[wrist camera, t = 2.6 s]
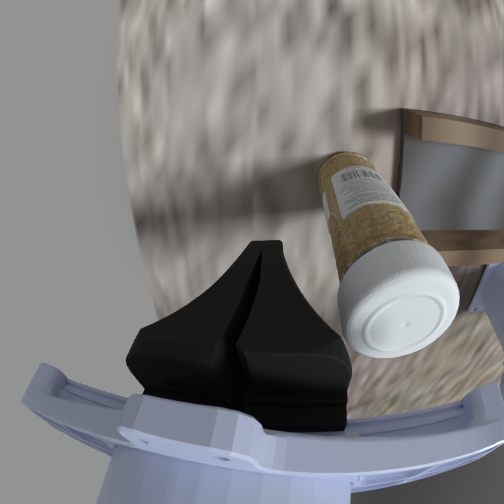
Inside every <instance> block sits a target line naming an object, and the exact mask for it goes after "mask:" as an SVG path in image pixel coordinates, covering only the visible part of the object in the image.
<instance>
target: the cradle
mask: <svg viewBox="0 0 504 504" xmlns="http://www.w3.org/2000/svg"><path fill="white" fill-rule="evenodd" d="M397 196H398V197H399V199H400V200H401V201H402V203H403V204H404V205H405V207H406V208H407V210H408V211H409V213H410V214H411V215H412V217H413V218H414V220H415V223H416V225H417V226H418V228H419V229H420V231H421V232H422V234H423V236H424V237H425V239H426V240H427V242H428V244H430V245H431V246H432V247H433V248H434V249H435V250H436V251H437V252H438V253H439V254H440V255H441V257H442V258H443V260H444V261H445V263H446V265H447V266H448V267H452V266H468V265H483V264H497V263H504V127H503V126H500V125H496V124H492V123H488V122H484V121H479V120H475V119H470V118H465V117H460V116H455V115H449V114H443V113H437V112H430V111H422V110H414V109H405V108H401V152H400V169H399V182H398V193H397Z"/></svg>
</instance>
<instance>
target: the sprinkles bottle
mask: <svg viewBox="0 0 504 504" xmlns="http://www.w3.org/2000/svg"><path fill="white" fill-rule="evenodd" d="M318 188H319V192H320V194H321V196H322V198H323V207H324V212H325V217H326V221H327V226H328V230H329V233H330V235H331V239H332V244H333V249H334V255H335V259H336V266H337V270H338V275H339V280H340V286H339V290H338V307H339V314H340V321H341V327H342V332H343V336H344V338H345V340H346V342H347V343H348V345H349V346H350V347H351V348H352V349H354V350H355V351H357V352H358V353H360V354H363V355H365V356H369V357H375V358H393V357H399V356H403V355H407V354H410V353H413V352H415V351H417V350H420V349H422V348H424V347H425V346H427V345H429V344H430V343H432V342H433V341H434V340H436V339H437V338H438V337H439V336H440V335H441V334H442V333H443V332H444V331H445V330H446V329H447V328H448V327H449V325H450V324H451V322H452V321H453V319H454V317H455V315H456V313H457V310H458V306H459V299H460V297H459V290H458V286H457V284H456V282H455V279H454V277H453V275H452V274H451V272H450V270H449V268H448V266H447V265H446V263H445V261H444V260H443V258H442V257H441V255H440V254H439V253H438V252H437V251H436V250H435V249H434V248H433V247H432V246H431V245H430V244H428V242H427V240H426V239H425V237H424V236H423V234H422V232H421V231H420V229H419V228H418V226H417V225H416V223H415V220H414V218H413V217H412V215H411V214H410V213H409V211H408V210H407V208H406V207H405V205H404V204H403V203H402V201H401V200H400V199H399V197H398V196H397V195H396V193H395V192H394V191H393V189H392V188H391V187H390V186H389V184H388V183H387V182H386V181H385V180H384V178H383V177H382V176H381V175H380V174H379V173H377V171H376V170H375V167H374V165H373V164H372V163H371V162H370V160H368V159H367V158H366V157H364V156H363V155H361V154H357V153H354V152H343V153H338V154H336V155H334V156H332V157H331V158H329V159H328V160H327V161H326V162H325V163H324V165H323V166H322V167H321V169H320V171H319V175H318Z"/></svg>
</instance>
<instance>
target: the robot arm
mask: <svg viewBox="0 0 504 504" xmlns="http://www.w3.org/2000/svg"><path fill="white" fill-rule="evenodd" d="M468 311H469V312H470V313H472V312H479V311H486V313H487V315H488V317H489V319H490V322H491V324H492V326H493V328H494V330H495V332H496V334H497V337H498V339H499V341H500V343H501V346H502V348H503V350H504V263H497V264H487V266H486V269H485V271H484V274H483V276H482V279H481V281H480V283H479V286H478V288H477V290H476V293H475V295H474V297H473V299H472V301H471V304H470V306H469V308H468ZM126 364H127V366H128V368H129V369H130V371H131V373H132V374H133V375H134V376H135V378H136V379H137V380H138V381H139V382H140V384H141V385H142V386H143V387H144V388H145V389H144V392H143V394H133V395H131V396H130V397H128V398H125V397H122V396H118V395H115V394H111V393H108V392H105V391H102V390H98V389H95V388H92V387H89V386H86V385H83V384H81V383H78V382H75V381H72V380H70V379H67V377H66V376H65V375H64V374H63V372H61V371H60V370H59V369H58V368H56V367H53V366H51V365H48V364H46V363H41V365H40V366H39V368H38V370H37V372H36V373H35V375H34V377H33V379H32V381H31V382H30V384H29V386H28V388H27V390H26V392H25V394H24V396H23V398H22V400H21V401H22V403H23V404H24V405H25V406H26V407H28V408H29V409H30V410H31V411H33V412H34V413H35V414H36V415H38V416H39V417H40V418H42V419H43V420H44V421H46V422H47V423H48V424H50V425H51V426H53V427H54V428H56V429H58V430H59V431H61V432H63V433H65V434H67V435H69V436H70V437H72V438H74V439H76V440H78V441H80V442H82V443H84V444H86V445H88V446H90V447H92V448H94V449H96V450H98V451H100V452H102V453H105V454H107V455H109V456H111V457H112V458H111V461H110V464H109V467H108V470H107V473H106V476H105V479H104V482H103V485H102V488H101V491H100V494H99V497H98V501H97V504H350V493H352V492H360V491H367V490H373V489H378V488H383V487H389V486H394V485H398V484H402V483H407V482H410V481H414V480H418V479H422V478H425V477H429V476H432V475H435V474H438V473H441V472H445V471H447V470H451V469H453V468H456V467H459V466H462V465H465V464H467V463H470V462H472V461H475V460H477V459H479V458H481V457H482V456H484V455H486V454H487V453H489V452H491V451H492V450H494V449H496V448H497V447H499V446H500V445H502V444H503V443H504V373H503V374H502V377H501V384H500V388H499V385H498V382H493V383H490V384H486V385H483V386H480V387H477V388H475V389H473V390H471V391H470V392H468V393H467V394H466V395H465V397H464V398H463V399H462V400H460V401H457V402H453V403H449V404H445V405H440V406H436V407H431V408H427V409H422V410H416V411H411V412H405V413H399V414H392V415H384V416H376V417H367V418H356V419H347V410H346V404H347V400H348V399H347V389H348V386H349V383H350V380H351V377H352V366H351V362H350V358H349V355H348V352H347V349H346V347H345V345H344V342H343V340H342V338H341V336H339V335H338V334H337V333H336V332H335V331H334V330H333V329H331V328H330V327H329V326H328V325H327V324H326V323H325V322H324V321H323V320H322V318H321V317H320V316H319V315H318V314H317V313H316V312H315V310H314V309H313V308H312V307H311V305H310V304H309V303H308V302H307V300H306V299H305V297H304V296H303V294H302V293H301V291H300V290H299V288H298V286H297V285H296V283H295V281H294V279H293V277H292V275H291V273H290V271H289V268H288V266H287V263H286V260H285V257H284V254H283V243H282V242H281V241H280V240H266V241H251V242H250V243H249V245H248V246H247V247H246V248H245V250H244V251H243V252H242V253H241V255H240V256H239V257H238V258H237V260H236V261H235V262H234V263H233V264H232V265H231V267H230V268H229V269H228V270H227V271H226V272H225V273H224V274H223V275H222V276H221V277H220V278H219V279H218V280H217V281H216V282H215V283H214V284H213V285H212V286H211V287H210V288H209V289H207V290H206V291H205V292H204V293H203V294H201V295H200V296H199V297H197V298H196V299H194V300H193V301H191V302H190V303H189V304H187V305H186V306H184V307H183V308H181V309H179V310H178V311H176V312H174V313H173V314H171V315H169V316H167V317H165V318H163V319H161V320H159V321H157V322H155V323H153V324H151V325H148V326H146V327H144V328H141V329H140V331H139V333H138V335H137V336H136V338H135V340H134V343H133V344H132V347H131V349H130V351H129V353H128V355H127V358H126ZM503 365H504V362H503Z"/></svg>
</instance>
